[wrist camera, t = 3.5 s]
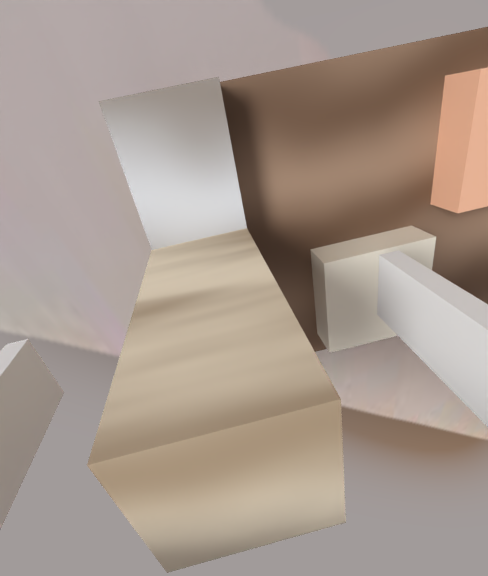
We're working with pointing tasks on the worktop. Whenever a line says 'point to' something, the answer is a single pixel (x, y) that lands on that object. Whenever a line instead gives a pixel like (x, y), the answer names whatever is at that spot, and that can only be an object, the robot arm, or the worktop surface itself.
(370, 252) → the cream tile
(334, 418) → the two-tone beige block
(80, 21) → the worktop surface
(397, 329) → the robot arm
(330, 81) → the board
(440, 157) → the terracotta tile
